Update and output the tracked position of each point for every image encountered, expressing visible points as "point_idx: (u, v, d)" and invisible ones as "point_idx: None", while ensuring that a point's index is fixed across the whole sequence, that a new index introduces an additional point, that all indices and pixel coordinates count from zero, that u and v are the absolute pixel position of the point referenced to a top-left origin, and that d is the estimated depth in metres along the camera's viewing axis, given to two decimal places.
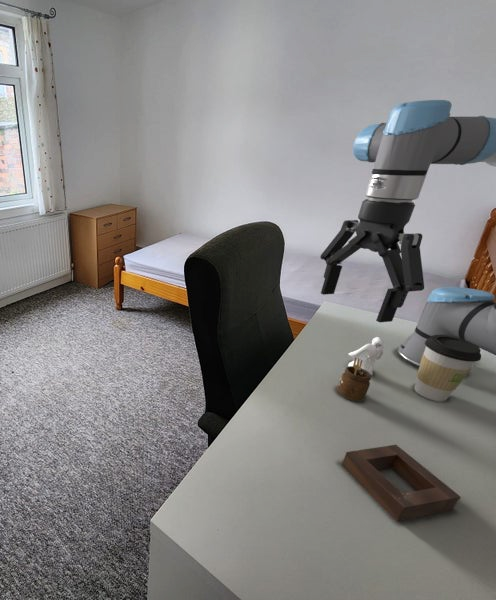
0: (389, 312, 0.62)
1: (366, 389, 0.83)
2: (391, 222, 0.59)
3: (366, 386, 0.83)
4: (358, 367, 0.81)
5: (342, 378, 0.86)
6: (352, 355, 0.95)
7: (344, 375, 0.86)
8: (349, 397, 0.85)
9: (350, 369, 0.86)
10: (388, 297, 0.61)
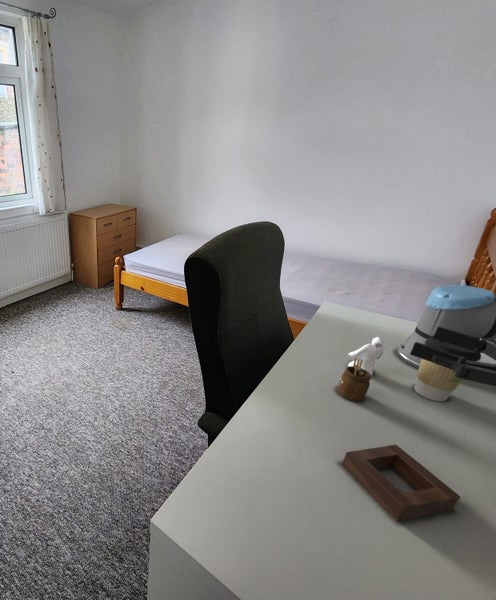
0: None
1: (366, 389, 0.83)
2: None
3: (366, 386, 0.83)
4: (358, 367, 0.81)
5: (342, 378, 0.86)
6: (352, 355, 0.95)
7: (344, 375, 0.86)
8: (349, 397, 0.85)
9: (350, 369, 0.86)
10: None
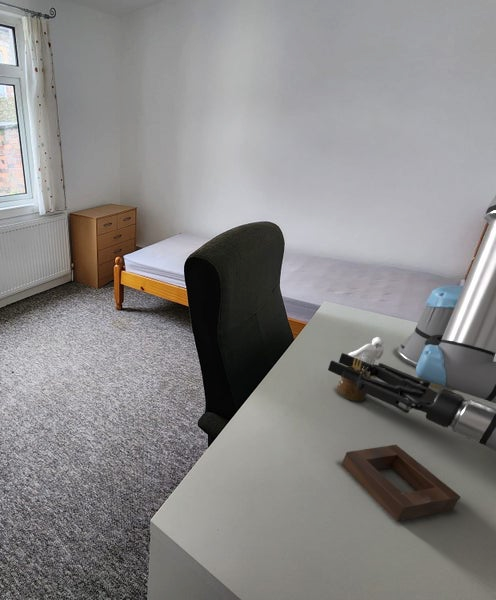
0: None
1: None
2: None
3: None
4: (357, 367, 0.81)
5: (342, 378, 0.86)
6: (352, 355, 0.95)
7: None
8: (349, 397, 0.85)
9: None
10: None
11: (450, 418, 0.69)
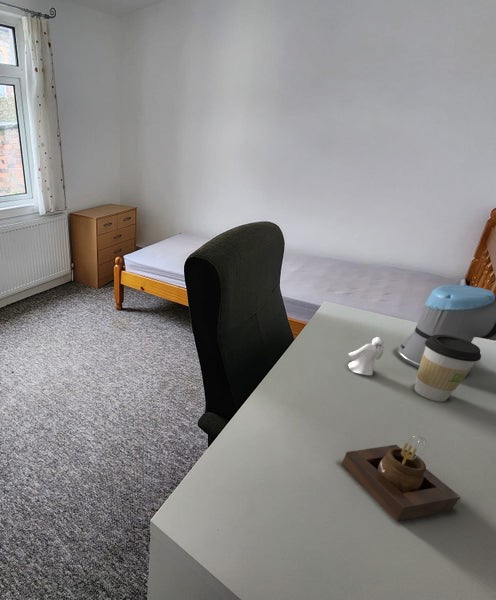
0: None
1: (419, 485, 0.59)
2: None
3: (419, 481, 0.59)
4: (409, 456, 0.58)
5: (383, 465, 0.62)
6: (352, 355, 0.95)
7: (386, 461, 0.62)
8: None
9: (394, 452, 0.63)
10: None
11: None
